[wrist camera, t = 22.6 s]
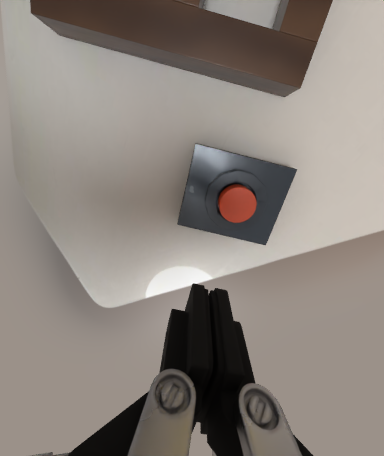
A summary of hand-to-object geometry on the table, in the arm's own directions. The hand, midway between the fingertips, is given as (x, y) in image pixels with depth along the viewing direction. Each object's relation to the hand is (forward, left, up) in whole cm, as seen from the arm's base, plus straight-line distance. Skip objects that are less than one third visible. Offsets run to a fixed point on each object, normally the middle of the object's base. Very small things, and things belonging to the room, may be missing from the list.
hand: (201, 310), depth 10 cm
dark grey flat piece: (+4, +2, -19) cm, 20 cm away
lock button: (+4, +2, -16) cm, 16 cm away
